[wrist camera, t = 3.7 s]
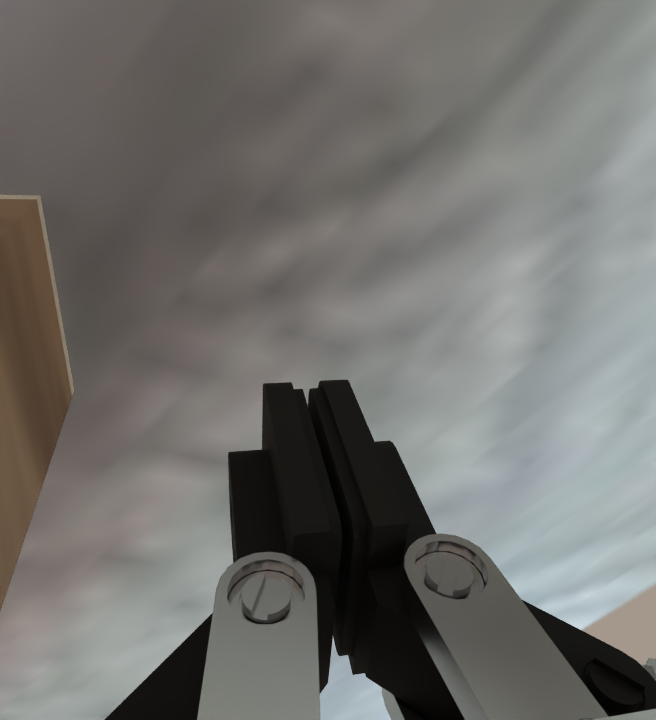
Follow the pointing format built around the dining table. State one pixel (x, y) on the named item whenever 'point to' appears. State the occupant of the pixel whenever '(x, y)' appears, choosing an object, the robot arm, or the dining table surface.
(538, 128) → the dining table surface
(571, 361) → the dining table surface
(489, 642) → the robot arm
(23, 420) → the brown rectangular block
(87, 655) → the dining table surface
